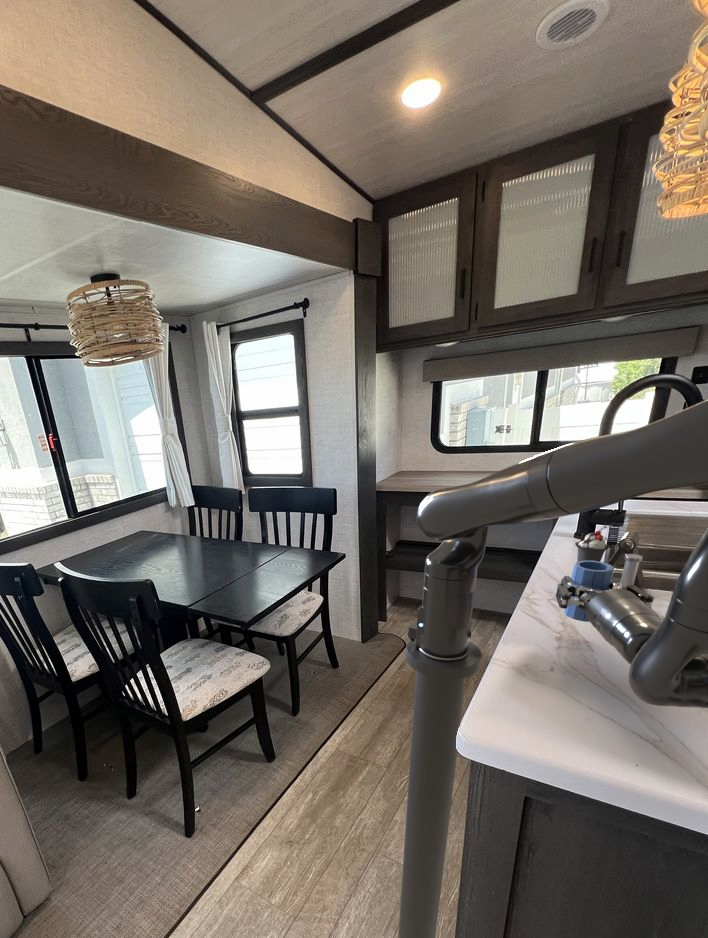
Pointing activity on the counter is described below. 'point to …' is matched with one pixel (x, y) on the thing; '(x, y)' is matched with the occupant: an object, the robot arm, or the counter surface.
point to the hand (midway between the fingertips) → (584, 580)
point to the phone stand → (628, 549)
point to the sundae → (591, 547)
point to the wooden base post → (630, 569)
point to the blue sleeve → (589, 582)
